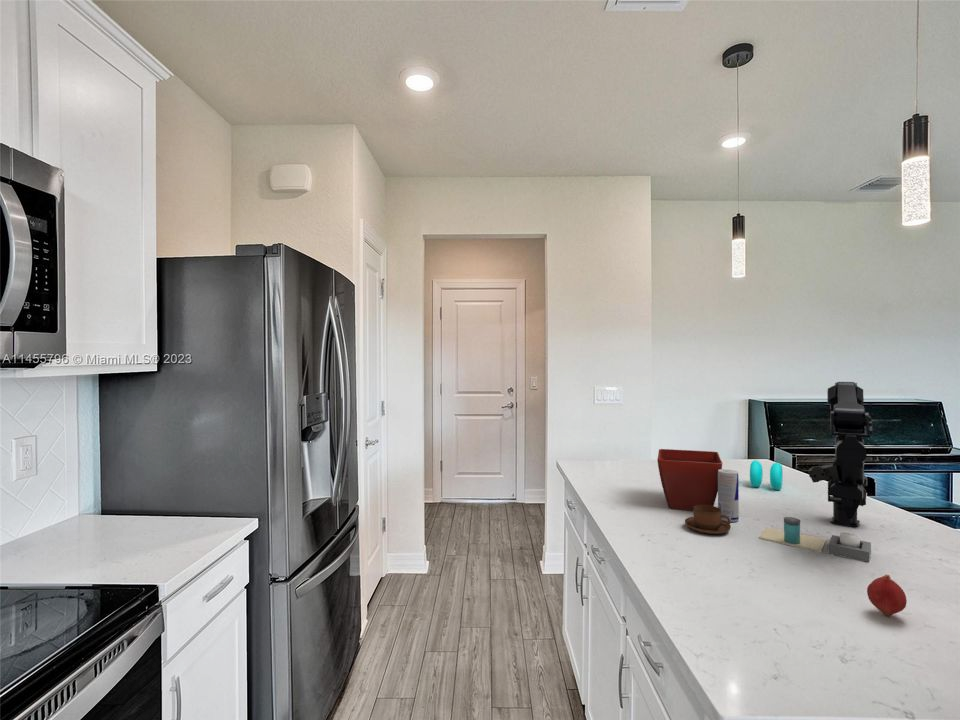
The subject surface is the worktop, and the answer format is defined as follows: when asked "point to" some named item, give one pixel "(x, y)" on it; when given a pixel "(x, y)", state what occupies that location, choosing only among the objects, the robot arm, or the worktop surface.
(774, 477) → the donuts
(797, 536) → the teal grey-topped cylinder
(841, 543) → the button
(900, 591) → the onion
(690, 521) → the cup and saucer
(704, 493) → the plant pot
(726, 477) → the beverage can
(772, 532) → the paper pad
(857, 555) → the button housing
